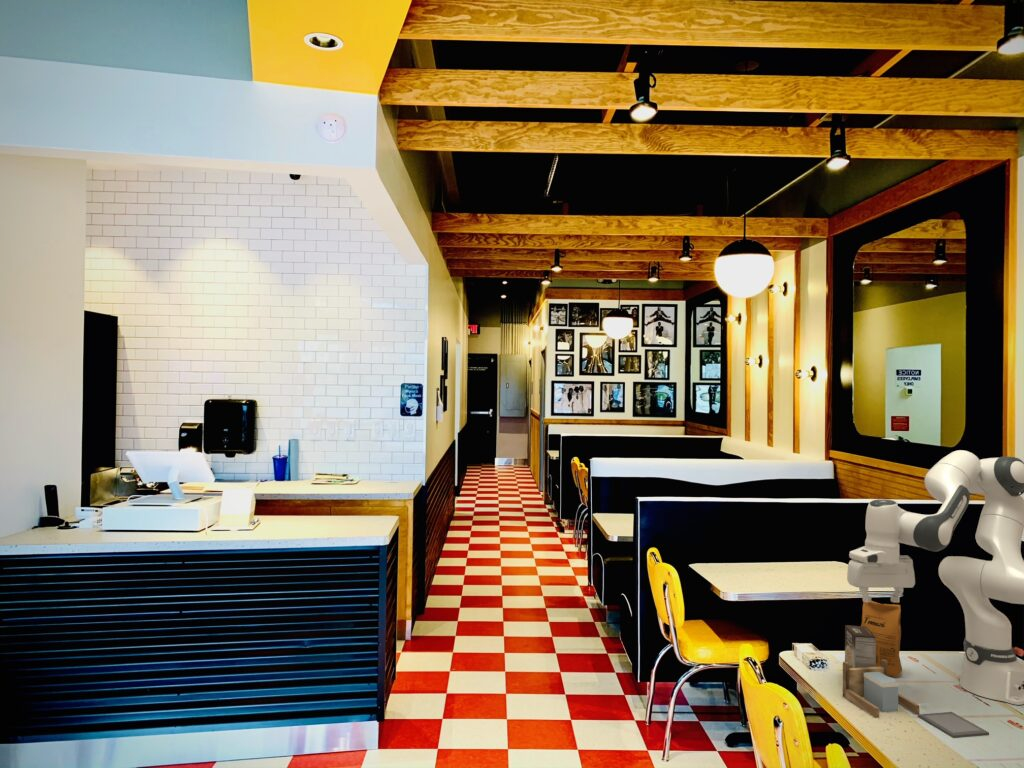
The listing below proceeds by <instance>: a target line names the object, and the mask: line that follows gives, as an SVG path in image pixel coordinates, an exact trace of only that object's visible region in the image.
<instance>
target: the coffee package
mask: <svg viewBox="0 0 1024 768" xmlns="http://www.w3.org/2000/svg"><path fill="white" fill-rule="evenodd" d="M862 602H863V601H862ZM901 612H902V609H901V604H889V603H880V602H879V603H878V602H876V601H873V600H871V603H866V602H863V603H862V613H861V614H862V615H861V624H860V626H863V627H867V628H868V629H869V630H870V631H871V632H872V634H873V635H874V636H875V637H876V667H880V666H881V660H883V659H884V660H886V661H887V676H888V677H891V678H892V677H894V678H898V677H900V675H901V674H902V672H903V667H902V662H901V657H900V650H901V647H900V646H901V638H902V628H901V627H902V626H901V618H902V616H901Z"/></svg>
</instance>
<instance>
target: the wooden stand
mask: <svg viewBox="0 0 1024 768" xmlns="http://www.w3.org/2000/svg"><path fill="white" fill-rule="evenodd" d="M867 672H880V673H882V674H884V675H886V676H887V661H886V660H884V659H883V660H881V666H880V667H863V668H849V663H848V662H845V661H843V662H842V697H843V698H845V699H846V700H848V701H849V702H851V703H853V704H854V705H855V706H857V707H858V708H860V709H861V710H863V711H864V712H865V713H867V714H869V715H870V716H872V717H873V718H875V719H877V718H880V710H879V708H878V707H876V706H875V705H873V704H872V703H870V702H869V701H867V700H865V699H864V673H867ZM898 706H900V707H902V708H904V709H905V710H907V711H909V712H910V713H912V714H913V715H915V716H916V715H917V716H918V714H920V705H919V704H918V703H916V702H915V701H914V700H913V701H912V700H911V699H909V698H907V697H906V696H904V695H902V694H901V693H899V692H898Z"/></svg>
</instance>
